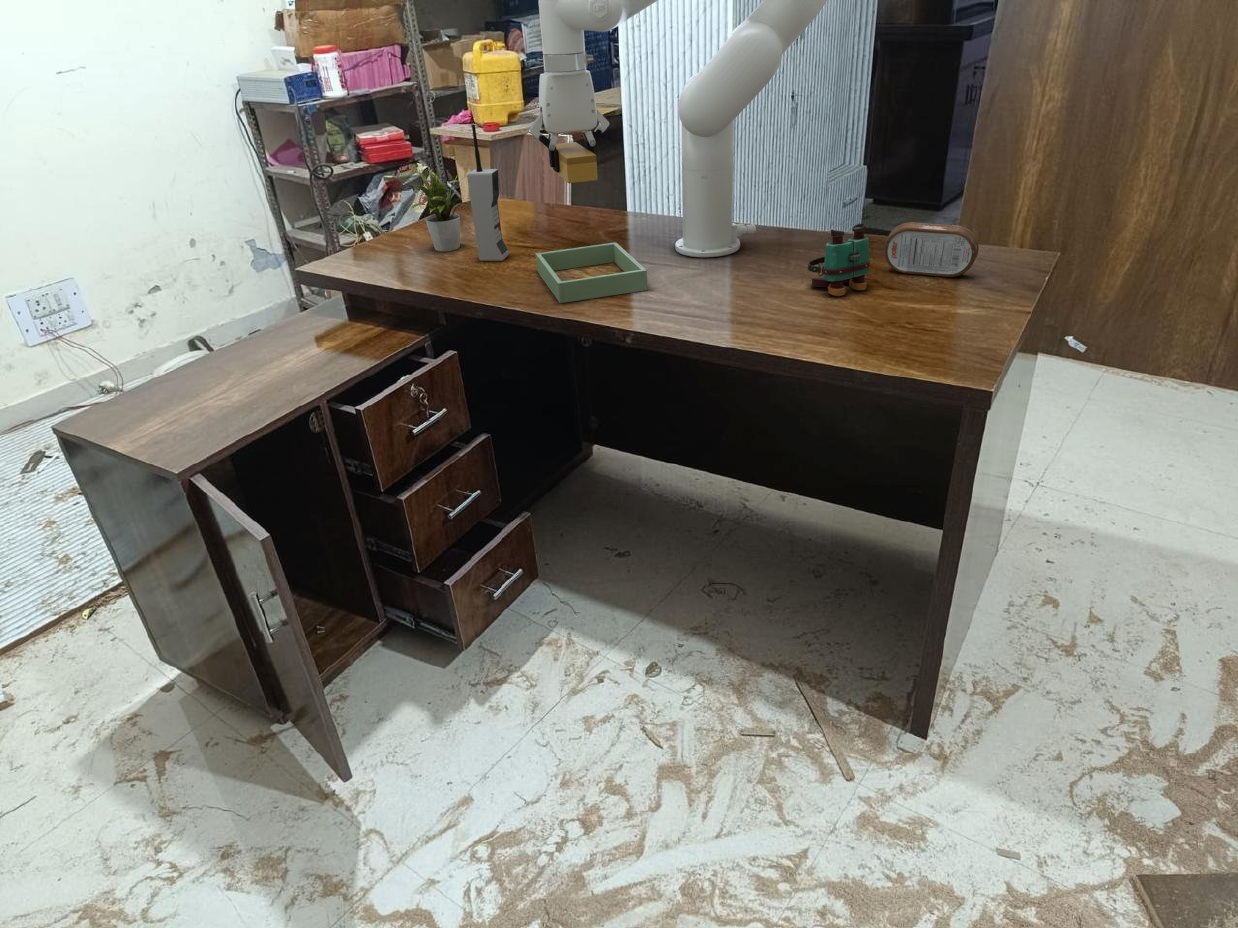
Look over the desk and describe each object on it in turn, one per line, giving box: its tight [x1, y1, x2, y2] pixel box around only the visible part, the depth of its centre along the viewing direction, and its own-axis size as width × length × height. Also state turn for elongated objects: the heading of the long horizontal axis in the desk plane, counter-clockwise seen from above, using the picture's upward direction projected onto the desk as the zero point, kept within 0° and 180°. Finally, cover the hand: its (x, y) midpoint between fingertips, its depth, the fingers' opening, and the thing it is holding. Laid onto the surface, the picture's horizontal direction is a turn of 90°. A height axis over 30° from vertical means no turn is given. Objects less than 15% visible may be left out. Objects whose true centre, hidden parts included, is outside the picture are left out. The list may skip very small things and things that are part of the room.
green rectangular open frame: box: [535, 241, 649, 304], centre depth 150 cm, size 16×19×4 cm
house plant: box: [402, 166, 470, 252], centre depth 170 cm, size 14×14×16 cm
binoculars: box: [807, 222, 871, 297], centre depth 138 cm, size 9×11×10 cm
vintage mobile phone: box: [466, 123, 509, 262], centre depth 159 cm, size 4×5×25 cm
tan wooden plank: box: [547, 141, 599, 184], centre depth 158 cm, size 6×15×4 cm, turn 17°
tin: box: [883, 221, 980, 278], centre depth 142 cm, size 15×3×8 cm, turn 65°
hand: (572, 168), depth 159 cm, fingers closed on tan wooden plank, 5 cm apart
